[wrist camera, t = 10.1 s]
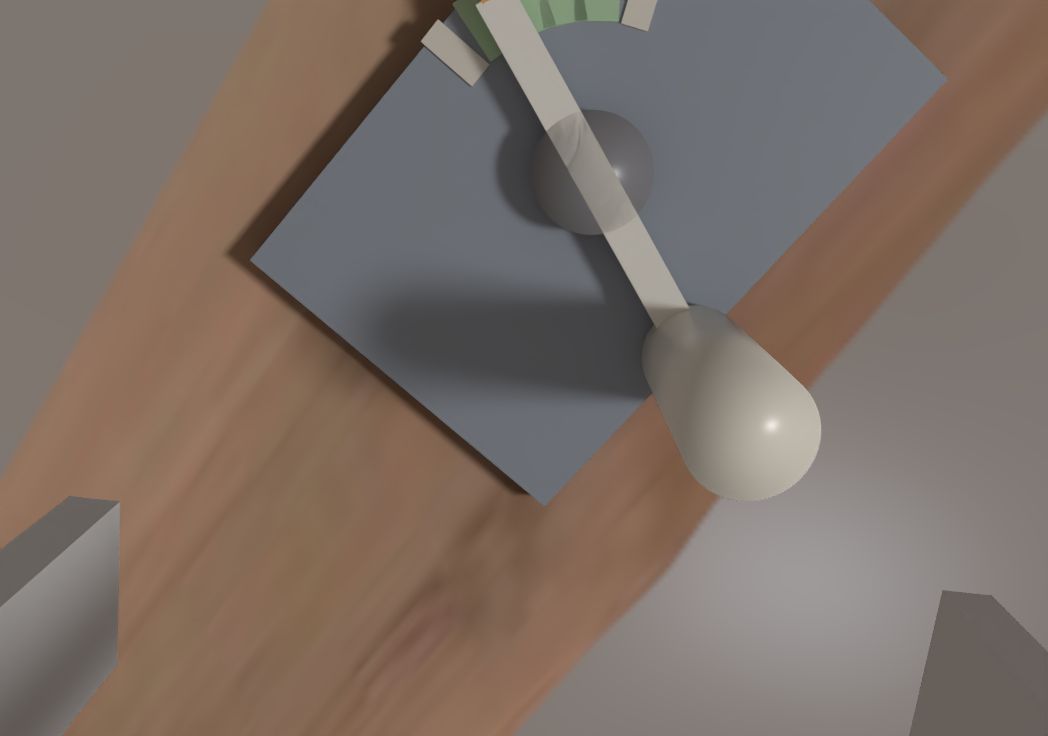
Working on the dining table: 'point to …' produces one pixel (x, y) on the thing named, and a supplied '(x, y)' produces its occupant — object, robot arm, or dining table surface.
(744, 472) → the needle
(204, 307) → the dining table surface
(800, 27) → the dial plate
